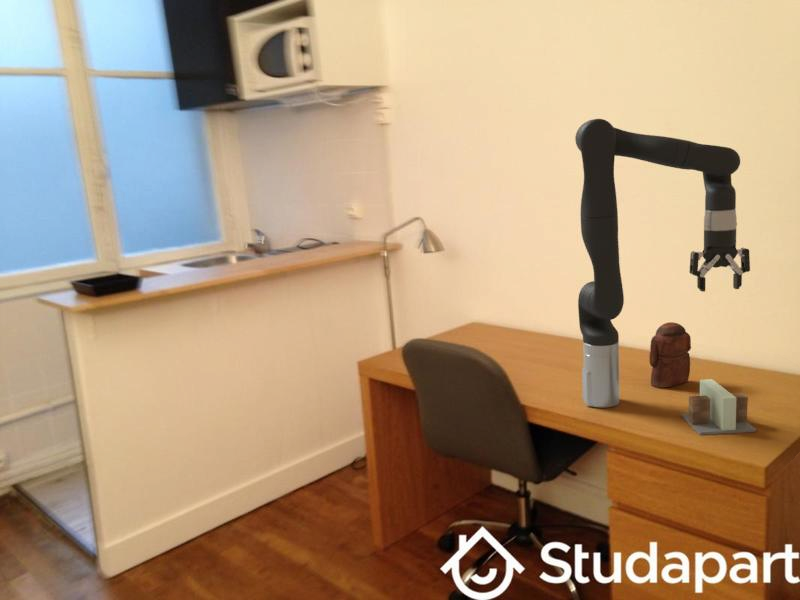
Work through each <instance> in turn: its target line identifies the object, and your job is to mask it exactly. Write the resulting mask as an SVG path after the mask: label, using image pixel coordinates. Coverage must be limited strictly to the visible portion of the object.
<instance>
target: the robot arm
mask: <svg viewBox="0 0 800 600" xmlns="http://www.w3.org/2000/svg"><path fill="white" fill-rule="evenodd" d="M574 140H575V145H576V147H577V149H578V150H579V151H580V153H581V158H582V169H583V184H582V185H583V186H582V190H581V191H582V193H581V199H580V232H581V237H582V240H583V244H584V247H585V249H586V251H587V254H588V256H589V259H590V261H591V265H592V269H593V281H589V282H586V283H585V284H584V285H583V287H581V289H580V292H579V293H578V298H577V299H578V300H577V302H578V303H577V304H578V305H577V307H578V324H579V330H580V333H581V335H582V345H583V348H582V349H583V350H582V351H583V352H582V355H583V366H582V367H581V381H582V385H581V387H582V388H581V389H582V400H583V402H584V404H585V405H586V407H594V408H612V407H616V406H618V405H619V404H620V398H621V397H620V352H619V351H620V350H619V349H620V347H619V346H620V345H619V344H620V343H619V342H620V341H619V336H620V335H619V332H618V330H617V329H616V327H615V326H614V324H613V322H612V320H614V319H616V318H617V317H618V316H620V314H621V312H622V311H623V307H624V304H625V301H624V300H625V296H624V295H625V294H624V289H623V287H624V286H623V281H622V275H621V274H622V273H621V267H620V265H621V264H620V248H619V247H620V245H619V218H618V217H619V216H618V214H619V213H618V200H617V191H616V183H615V156H616V157H617V156H618V157H622V158H623V157H624V158H625V157H626V158H631V159H634V160H640V161H644V162H648V163H651V164H656V165H659V166H664V167H669V168H673V169H674V168H675V169H680V170H688V171H689V170H692V171H697V172H701V173H702V179H703V185H704V189H705V196H704V198H705V199H704V202H705V203H704V206H705V207H704V217H703V250H702V251H694V250H693V251H691V252H690V258H689V259H690V260H689V261H690V263H689V273H690V274H691V275H693V276H695V277H696V278H697V280H696V281H697V289H698V290H699V291H700V292H702V293H703V292H706V277H705V276H706V275H707V273H708V272H709V271H711V269H712V268H720V267H721V268H722V267H723V268H728V267H729V268H730V269H731V270H732V271H733V274H732V275H733V277H732V278H733V280H732V282H733V283H732V284H733V289H735V290H740V288H741V287H742V282H743V280H742V279H743V275H744V274H745V273H749V272H750V271H751V261H750V259H751V257H750V250H749V248H745V247H741V248H740V249H739V248H737V226H738V223H737V211H736V208H737V206H736V205H737V203H736V200H737V199H736V198H737V195H736V194H737V193H736V189H735V187H734V186H733V184H732V175H733V174H734V173H736V171H737V170H738V169H739V168H740V165H741V157H740V154H739V153H738V152H737V151H736V150H735V149H733V148H731V147H726V146H722V145H721V146H720V145H714V144H713V145H712V144H703V143H698V142H695V141H692V140H691V141H690V140H687V139H681V138H675V137H671V136H670V137H668V136H663V135H655V134H654V135H652V134H643V133H637V132H631V131H627V130H623V129H621V128H617V127H614V125H612V124H611V122H609V121H607V120H606V119H603V118H594V119H590V120H587V121H585V122H583V123H582V124H581V125H580V126H579V127H578V129H577V131H576V133H575V139H574ZM737 255H738V257H740V266H739V265H738V263H737V262H736V260H735V258H736V256H737ZM702 257H703V260H704V261H703V263H702V264H701V265H700V268H699V261H700V260H701V259H702Z"/></svg>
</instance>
